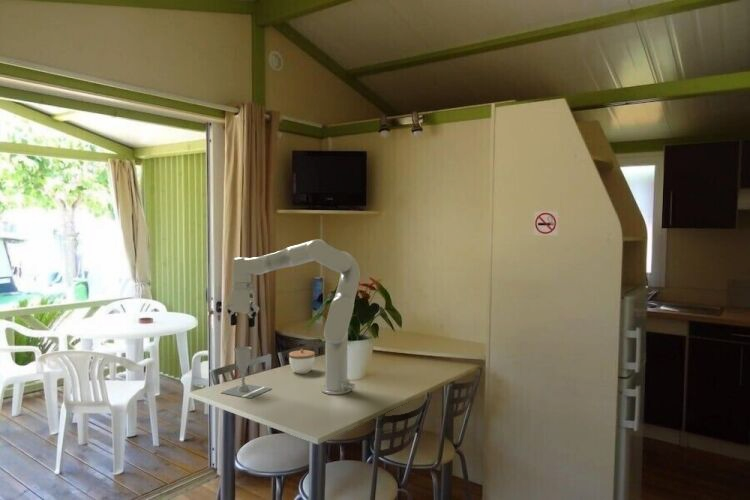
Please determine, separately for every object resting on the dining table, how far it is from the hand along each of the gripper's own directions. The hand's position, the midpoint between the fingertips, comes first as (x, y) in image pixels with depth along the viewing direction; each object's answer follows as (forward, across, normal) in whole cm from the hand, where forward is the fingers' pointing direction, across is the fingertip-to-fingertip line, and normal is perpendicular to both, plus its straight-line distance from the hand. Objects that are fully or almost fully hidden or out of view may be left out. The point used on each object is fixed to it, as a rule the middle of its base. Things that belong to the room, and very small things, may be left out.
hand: (242, 326), depth 215 cm
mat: (+28, -2, 0) cm, 28 cm away
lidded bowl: (+28, -6, -36) cm, 46 cm away
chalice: (+28, 0, 0) cm, 28 cm away
